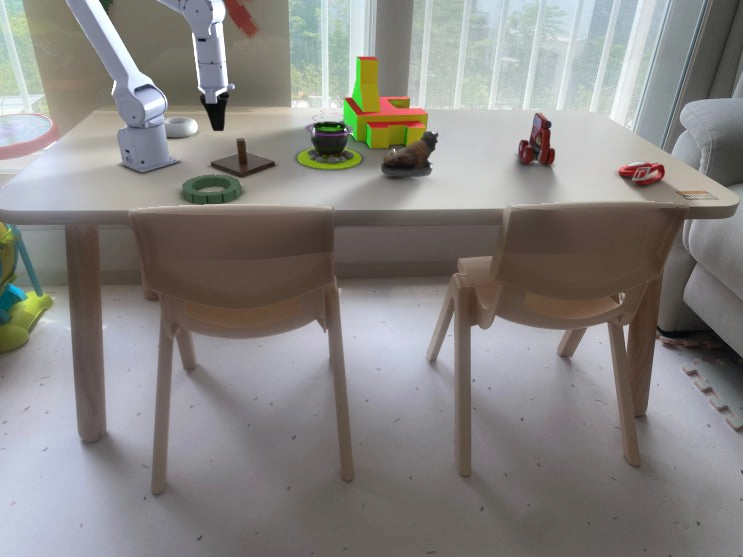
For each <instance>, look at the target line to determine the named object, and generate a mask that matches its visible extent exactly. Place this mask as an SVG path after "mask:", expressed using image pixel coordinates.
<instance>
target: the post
mask: <svg viewBox="0 0 743 557" xmlns="http://www.w3.org/2000/svg"><path fill="white" fill-rule="evenodd" d="M235 141H236V142H235V143H236V152H237V153H235V154H232V155H229V156H226V157H222V158H219V159H216V160H213V161H210V167H212V168H214V169H218V170H220V171H223V172H226V173H228V174H231V175H234V176H237V177H240V178H244V177H246V176H250V175H252V174H254V173H255V174H256V173H257V172H260V171H263V170H266V169H269V168H271V167H275V165H276V161H275V160H272V159H270V158H267V157H263V156H261V155H257V154H254V153H251V152H248V151H247V140H246V138H243V137H238V138H236V139H235Z"/></svg>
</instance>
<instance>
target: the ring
mask: <svg viewBox="0 0 743 557" xmlns="http://www.w3.org/2000/svg"><path fill="white" fill-rule="evenodd" d="M215 186H217V187H224V189H221V190H216V191H200V190H199V189H202V188H205V187H215ZM181 188H182V194H183V198H184V200H187V201H188V202H190V203H191V204H192V203H194V204H199V205H217V204H223V203H227V202H230V201H233V200H235V199H237V198H238V197H239V196H240V195H241V194H242V185H241V182H240V180H239V179H238V178H237V177H234V176H232V175H228V174H218V173H217V174H215V173H213V174H203V175H197V176H195V177H192V178H189V179H187V180H186V181H184V182H183V183H182V184H181Z"/></svg>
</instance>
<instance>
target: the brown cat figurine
mask: <svg viewBox="0 0 743 557" xmlns="http://www.w3.org/2000/svg"><path fill="white" fill-rule="evenodd" d="M438 137H439V131H436V132H434V131H433V130H427V131H426V132H425V131H424V132H423V137H422V138H420V140H421V141H415V142H413V143H411V144H410V145H408V146H407V147H406V146H405V147H403V148H401V149H399V150H398V151H396V150H395V148H392V149H391V150H390V151H388V152H387V153H386V154H385V156H384V158H383V162H382V163H381V164H380V171H381V172H382V173H383V175H387V176H392V177H397V178H398V177H399V178H419V177H427V176H430V175H431V174H432V171H433V167H434V164H433V162H431V160H430V159H429V158H430V156H431V154H432V153H433V152H434V151H436V149H437V147H436V146H437V144H438V143H439V140H438Z"/></svg>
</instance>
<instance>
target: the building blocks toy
mask: <svg viewBox="0 0 743 557" xmlns="http://www.w3.org/2000/svg"><path fill="white" fill-rule="evenodd" d="M378 78H379V59H378V58H376V57H375V56H356V58H355V81H354V86H353V91H352V95H351V97H347V96H346V97H344V96H343V105H342V106H343V107H342V108H343V110H342V112H343V114H342V118H343V120H342V121H343V123H345V124H346V125H347V124H348V126H349V125H350V126H352V127H353V128H354V129H353V128H351V129H353V130H354V131H353V130H352V131H353V132H352V131H351V134H352V137H353V138H354V140H355V142H365V143H366V144H367V146H368V147H369V149H389V147H390V146H391V145H403V146H405V147H407V146H408V145H410V144H411V143H413V142H415V141H421V140H420V138H422V137H423V132H424V131H425V132H428V121H429V120H428V119H429V113H428V112H427V111H425V110H424V109H423V108H422V107H414V108H413V107H412V108H411V107H410V106H411V98H410V97H409V96H380V93H379V85H378V81H379V80H378ZM344 116H345V117H344ZM345 118H347V119H345ZM344 120H345V121H344ZM347 130H348V131H350V130H349V128H348V127H347Z"/></svg>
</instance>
